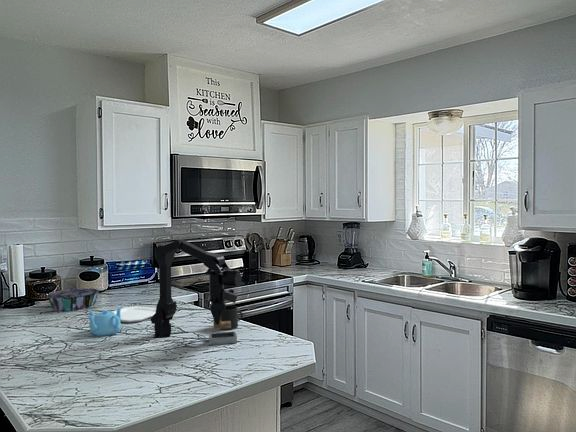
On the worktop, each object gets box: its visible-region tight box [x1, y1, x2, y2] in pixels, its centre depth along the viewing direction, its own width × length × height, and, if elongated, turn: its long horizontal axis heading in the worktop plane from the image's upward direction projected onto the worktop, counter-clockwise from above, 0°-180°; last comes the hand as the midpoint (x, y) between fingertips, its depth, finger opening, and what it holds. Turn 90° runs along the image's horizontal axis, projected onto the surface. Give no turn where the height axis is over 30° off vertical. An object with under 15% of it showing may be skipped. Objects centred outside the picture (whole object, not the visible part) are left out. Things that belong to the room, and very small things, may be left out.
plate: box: [111, 305, 156, 324], centre depth 237 cm, size 25×25×2 cm
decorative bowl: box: [46, 287, 100, 312], centre depth 260 cm, size 26×28×10 cm
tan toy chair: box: [212, 316, 231, 330], centre depth 193 cm, size 7×4×7 cm, turn 102°
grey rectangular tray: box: [208, 331, 238, 346], centre depth 193 cm, size 11×8×2 cm
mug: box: [221, 305, 244, 331], centre depth 214 cm, size 9×12×9 cm
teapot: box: [86, 305, 123, 337], centre depth 208 cm, size 15×15×10 cm
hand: (217, 323), depth 192 cm, fingers closed on tan toy chair, 4 cm apart
